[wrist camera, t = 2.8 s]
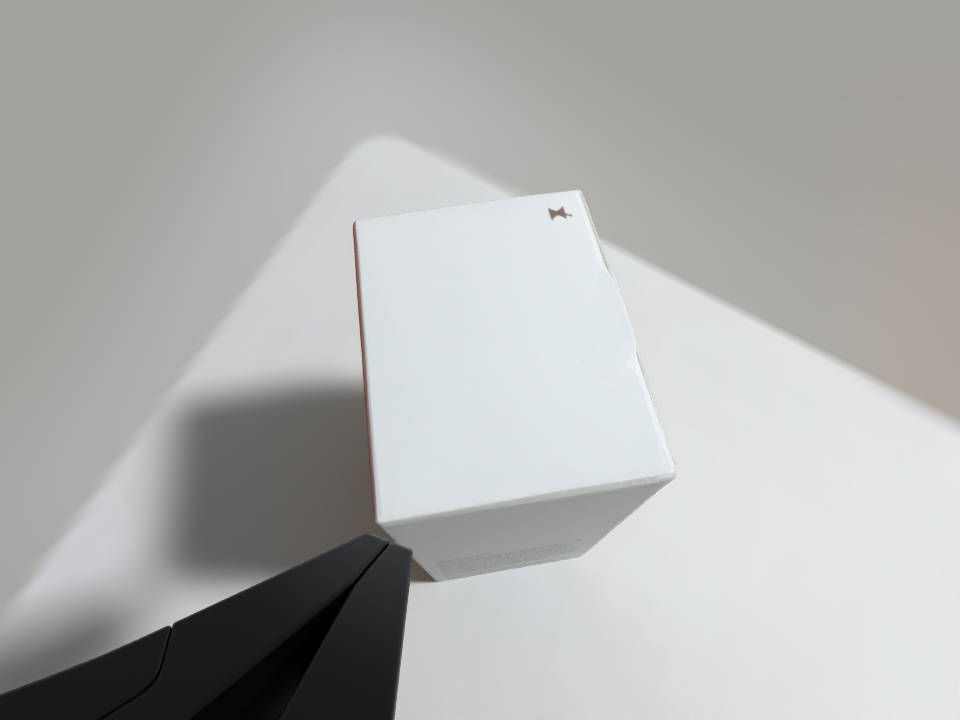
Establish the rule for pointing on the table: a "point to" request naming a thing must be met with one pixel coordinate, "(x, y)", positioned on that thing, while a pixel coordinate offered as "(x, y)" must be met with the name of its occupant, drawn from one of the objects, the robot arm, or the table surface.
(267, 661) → the robot arm
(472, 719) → the table surface
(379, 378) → the small box
